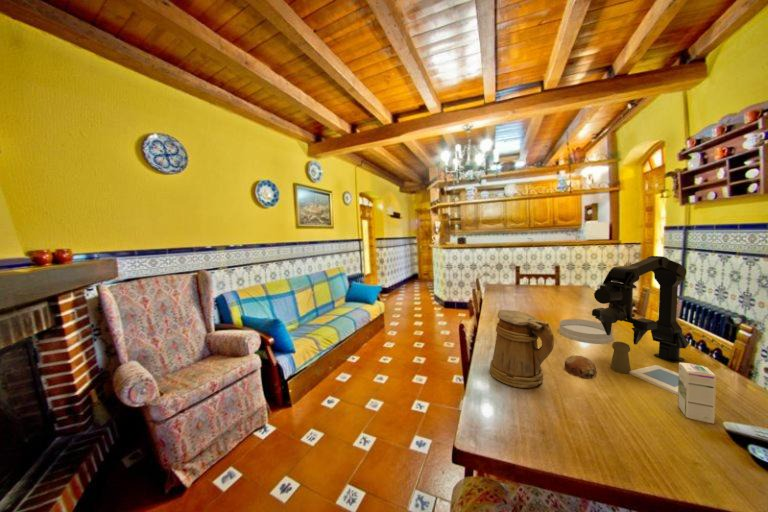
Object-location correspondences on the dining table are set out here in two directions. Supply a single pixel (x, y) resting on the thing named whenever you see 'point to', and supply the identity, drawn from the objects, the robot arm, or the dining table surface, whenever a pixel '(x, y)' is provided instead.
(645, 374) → the plate
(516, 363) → the tankard
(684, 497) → the dining table surface
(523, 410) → the dining table surface
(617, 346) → the cork
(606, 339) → the dish
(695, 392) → the syrup box
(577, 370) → the bread roll
